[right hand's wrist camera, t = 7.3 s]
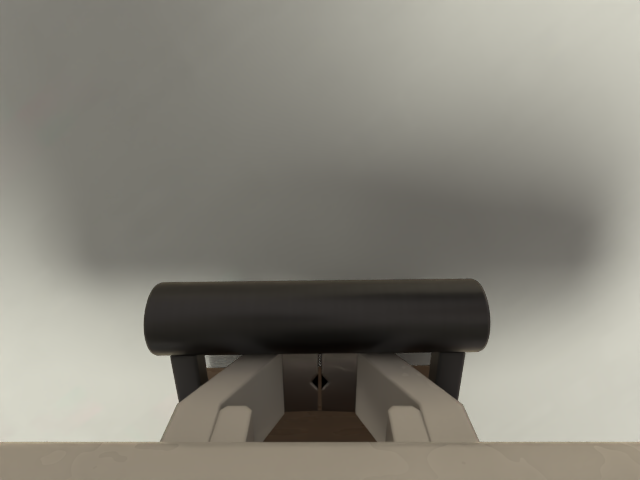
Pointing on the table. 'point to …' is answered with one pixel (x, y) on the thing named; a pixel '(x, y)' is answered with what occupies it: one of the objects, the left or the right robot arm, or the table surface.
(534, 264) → the table surface
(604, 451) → the right robot arm
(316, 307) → the drawer
